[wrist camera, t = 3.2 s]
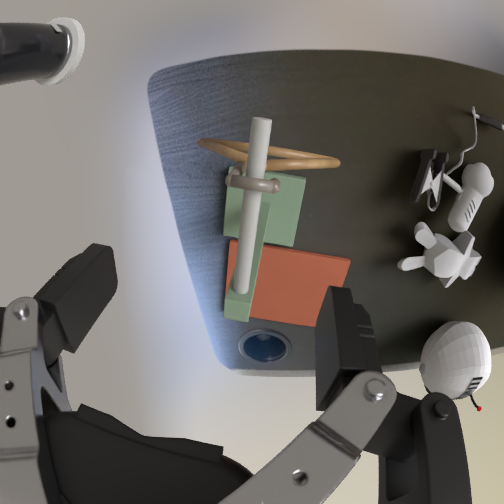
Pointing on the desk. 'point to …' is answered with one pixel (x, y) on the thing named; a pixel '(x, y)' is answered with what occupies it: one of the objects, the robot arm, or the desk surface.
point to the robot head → (456, 360)
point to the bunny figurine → (443, 255)
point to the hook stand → (258, 220)
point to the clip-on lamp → (473, 180)
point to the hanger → (262, 185)
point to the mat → (291, 283)
